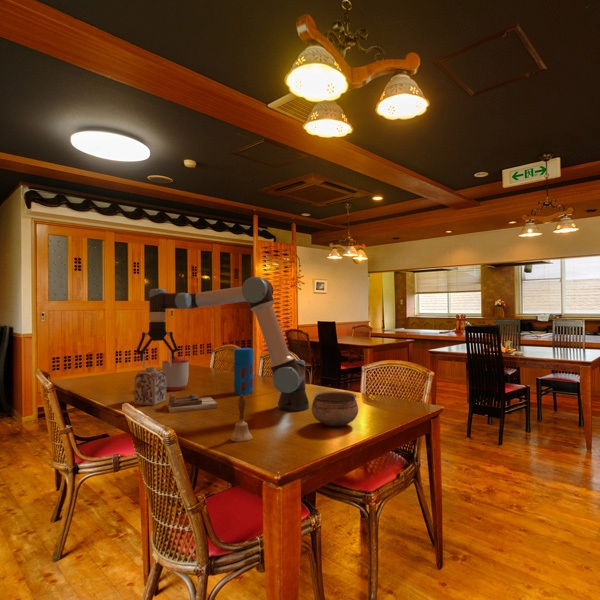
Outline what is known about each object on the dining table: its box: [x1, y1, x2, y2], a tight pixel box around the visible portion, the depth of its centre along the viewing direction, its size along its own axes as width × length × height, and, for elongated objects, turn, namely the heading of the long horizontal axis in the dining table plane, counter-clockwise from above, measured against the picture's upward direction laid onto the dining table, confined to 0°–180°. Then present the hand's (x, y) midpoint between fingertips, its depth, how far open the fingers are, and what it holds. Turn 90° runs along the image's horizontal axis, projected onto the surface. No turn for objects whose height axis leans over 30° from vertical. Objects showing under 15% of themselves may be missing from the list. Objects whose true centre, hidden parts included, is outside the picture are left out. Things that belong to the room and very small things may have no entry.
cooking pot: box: [311, 390, 359, 429], centre depth 162 cm, size 25×19×12 cm
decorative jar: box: [133, 366, 167, 406], centre depth 205 cm, size 12×12×18 cm
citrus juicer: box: [161, 355, 190, 392], centre depth 239 cm, size 16×17×20 cm
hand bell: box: [229, 395, 254, 443], centre depth 147 cm, size 8×8×16 cm
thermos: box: [233, 347, 254, 396], centre depth 227 cm, size 11×11×25 cm
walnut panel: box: [168, 392, 202, 407], centre depth 194 cm, size 12×14×4 cm
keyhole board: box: [166, 393, 218, 414], centre depth 195 cm, size 16×22×5 cm
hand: (157, 367), depth 190 cm, fingers open, 11 cm apart
